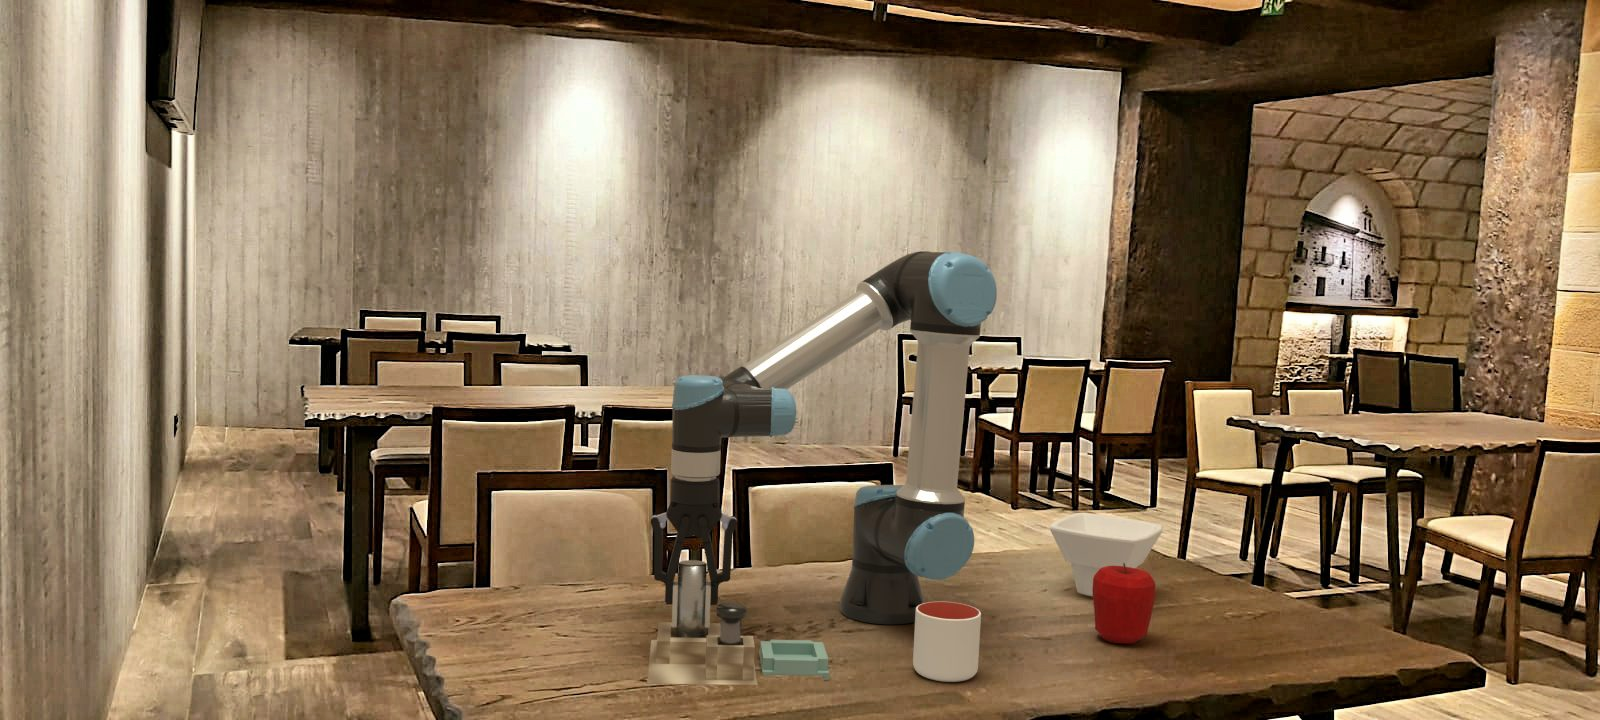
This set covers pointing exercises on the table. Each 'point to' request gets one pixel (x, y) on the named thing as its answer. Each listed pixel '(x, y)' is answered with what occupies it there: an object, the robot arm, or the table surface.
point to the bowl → (1102, 544)
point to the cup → (946, 641)
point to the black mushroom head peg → (731, 622)
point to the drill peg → (691, 599)
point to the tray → (793, 658)
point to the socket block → (700, 659)
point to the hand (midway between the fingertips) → (690, 624)
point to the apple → (1122, 603)
